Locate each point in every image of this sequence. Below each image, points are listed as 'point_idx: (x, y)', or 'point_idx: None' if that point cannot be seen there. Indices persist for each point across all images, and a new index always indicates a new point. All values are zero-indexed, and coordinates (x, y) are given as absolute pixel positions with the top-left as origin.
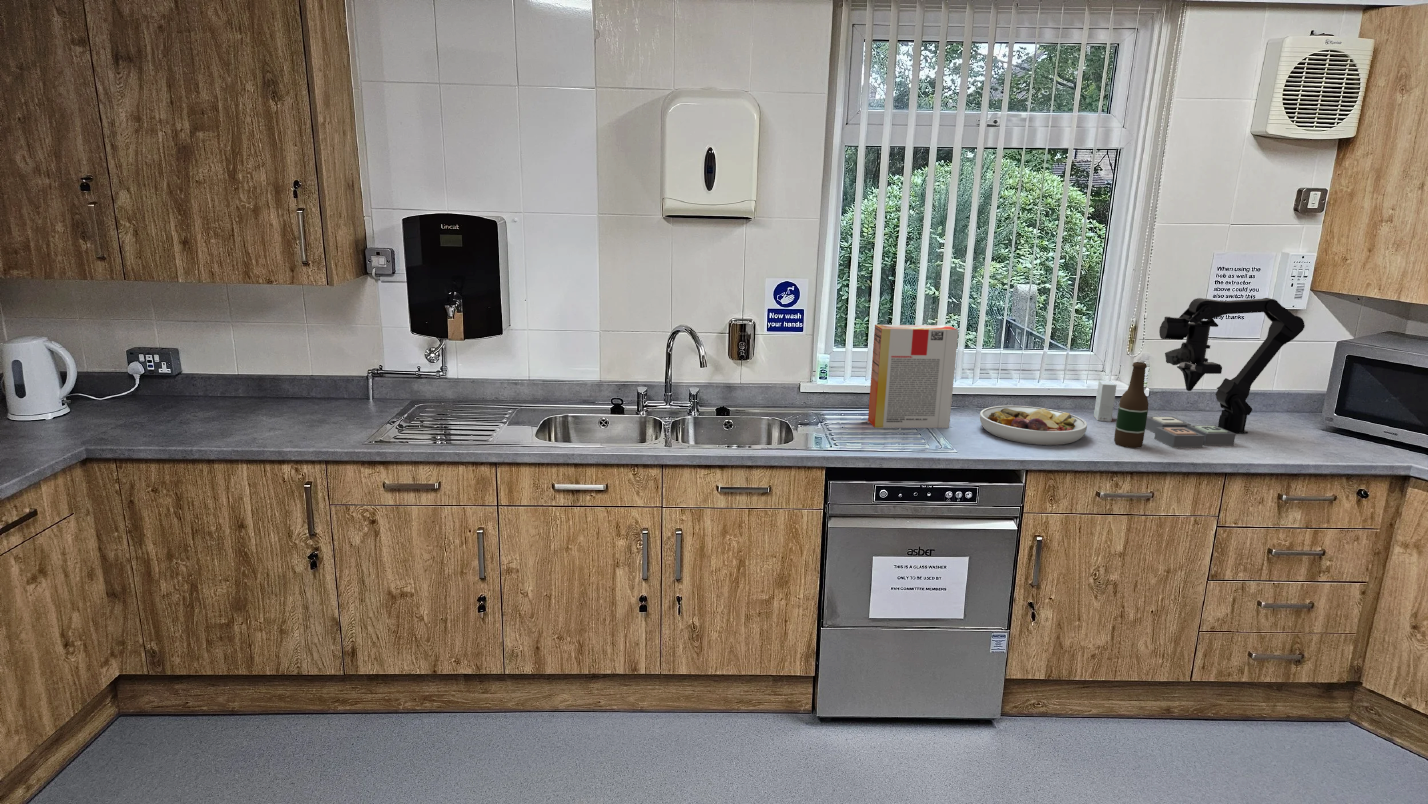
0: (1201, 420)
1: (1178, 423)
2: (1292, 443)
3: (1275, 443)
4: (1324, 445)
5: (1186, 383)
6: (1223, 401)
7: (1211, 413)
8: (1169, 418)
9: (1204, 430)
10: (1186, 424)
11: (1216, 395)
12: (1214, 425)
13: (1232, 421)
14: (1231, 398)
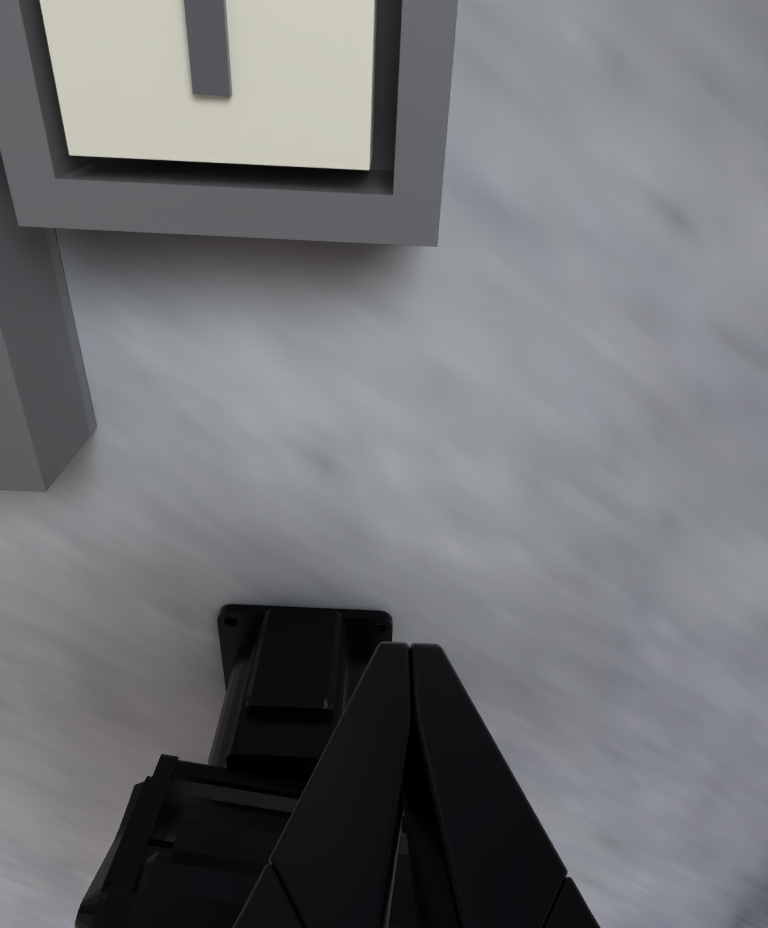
0: (622, 653)
1: (60, 66)
2: (32, 787)
3: (4, 715)
4: (30, 876)
5: (444, 772)
6: (219, 833)
7: (762, 803)
8: (289, 75)
9: None
10: (2, 152)
11: (408, 893)
12: (39, 481)
13: (232, 707)
14: (101, 911)
